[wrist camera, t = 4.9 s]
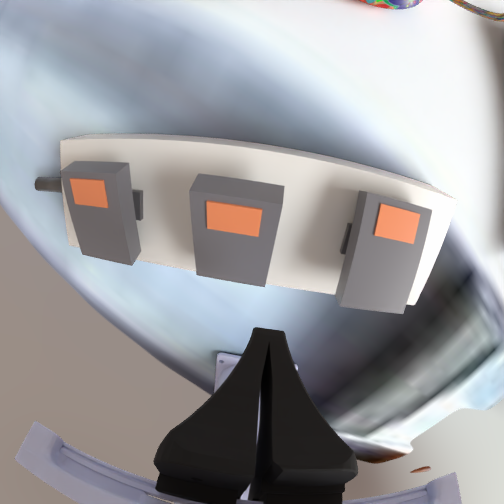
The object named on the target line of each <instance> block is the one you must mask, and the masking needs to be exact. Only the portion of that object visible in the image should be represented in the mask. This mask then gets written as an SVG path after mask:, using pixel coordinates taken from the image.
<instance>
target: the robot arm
mask: <svg viewBox="0 0 504 504" xmlns="http://www.w3.org/2000/svg"><path fill="white" fill-rule="evenodd" d="M297 370H298V366H297V365H296V364H294V362H293V359H292V357H291V354H290V351H289V348H288V344H287V340H286V336H285V333H284V331H279V330H272V329H265V328H258V327H255V328H253V332H252V335H251V338H250V340H249V343H248V345H247V347H246V349H245V351H244V353H243V354H242V356H238V355H232V354H227V353H218V355H217V360H216V374H215V388H214V394H213V395H212V396H211V397H210V398H209V399H208V400H207V401H206V402H205V403H204V404H203V405H202V406H201V407H200V408H199V409H197V411H195V412H194V413H193V414H192V415H191V416H190V417H188V418H187V419H186V420H184V421H183V422H182V423H180V424H179V425H177V426H176V427H175V428H173V429H172V430H171V431H170V432H169V433H168V434H167V436H166V437H165V438H164V440H163V441H162V443H161V444H160V446H159V448H158V450H157V453H156V455H155V458H154V465H155V466H156V467H157V469H158V471H159V472H160V474H159V477H158V480H157V482H156V481H153V480H150V479H147V478H144V477H141V476H138V475H135V474H133V473H130V472H127V471H125V470H122V469H120V468H117V467H115V466H112V465H110V464H108V463H105V462H103V461H101V460H99V459H97V458H94V457H92V456H90V455H88V454H86V453H84V452H82V451H80V450H78V449H76V448H74V447H73V446H71V445H69V444H67V443H65V442H64V441H63V440H62V439H61V438H60V437H59V436H58V435H57V434H56V433H54V432H53V431H51V430H50V429H48V428H46V427H45V426H43V425H41V424H40V423H38V422H37V421H35V422H34V423H33V425H32V427H31V429H30V430H29V432H28V434H27V436H26V438H25V439H24V442H23V443H22V445H21V447H20V449H19V451H18V453H17V455H16V457H15V460H16V461H17V462H18V463H20V464H21V465H22V466H23V467H25V468H26V469H27V470H29V471H30V472H31V473H33V474H34V475H36V476H37V477H38V478H40V479H41V480H43V481H44V482H45V483H47V484H48V485H50V486H51V487H53V488H54V489H56V490H57V491H59V492H61V493H62V494H64V495H65V496H67V497H69V498H71V499H72V500H74V501H76V502H77V503H79V504H171V503H168V502H165V501H162V500H159V499H157V498H154V497H151V496H155V497H158V498H161V499H164V500H168V501H171V502H174V504H462V503H461V497H460V491H459V485H458V480H457V475H456V473H455V472H454V473H451V474H448V475H445V476H442V477H439V478H437V479H435V480H433V481H431V482H429V483H428V484H427V485H423V486H420V487H416V488H412V489H408V490H404V491H400V492H395V493H391V494H386V495H381V496H375V497H369V498H362V499H355V500H346V501H342V493H343V492H344V491H345V483H347V482H348V481H350V480H352V479H353V478H354V477H355V476H356V475H357V474H358V466H357V461H356V457H355V454H354V451H353V450H352V449H351V448H350V447H349V446H348V445H347V444H346V443H345V442H344V441H343V440H342V439H341V438H340V437H339V436H338V435H337V434H336V432H335V431H334V430H333V429H332V428H331V427H330V425H329V424H328V423H327V421H326V420H325V419H324V417H323V416H322V415H321V413H320V412H319V410H318V409H317V407H316V406H315V404H314V403H313V401H312V399H311V398H310V396H309V394H308V392H307V391H306V389H305V387H304V385H303V383H302V381H301V379H300V377H299V374H298V372H297ZM147 494H148V495H151V496H148V495H147Z"/></svg>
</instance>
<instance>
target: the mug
mask: <svg viewBox="0 0 504 504" xmlns="http://www.w3.org/2000/svg"><path fill="white" fill-rule="evenodd" d="M360 1H362V2H365V3H367V4H370V5H374V6H377V7H381V8H387V9H406V8H410V7H413V6H416V5H418V4H419V3H420V2H421V1H422V0H360ZM450 1H451V2H453V3H455V4H457V5H458V6H460V7H462V8H464V9H466V10H468V11H470V12H472V13H475V14H477V15H479V16H482V17H485V18H488V19H491V20H495V21H504V14H498V13H493V12H489V11H486V10H484V9H481V8H479V7H476V6H474V5H472V4H470V3H468V2H466V1H464V0H450Z"/></svg>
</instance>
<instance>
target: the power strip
mask: <svg viewBox="0 0 504 504" xmlns="http://www.w3.org/2000/svg"><path fill="white" fill-rule="evenodd" d="M60 158H61V170H62V169H64V168H65V167H67V166H68V165H69V164H71V163H72V162H74V161H103V162H126V163H129V166H130V176H131V185H132V194H133V201H134V209H135V216H136V222H137V229H138V235H139V241H140V246H141V252H140V254H139V256H138V257H137V259H136V260H140V261H145V262H149V263H154V264H159V265H165V266H170V267H175V268H180V269H185V270H191V271H196V264H195V255H194V245H193V234H192V223H191V211H190V197H189V190H190V188H191V186H192V184H193V182H194V181H195V179H196V177H197V175H198V173H199V174H208V175H216V176H223V177H231V178H238V179H245V180H251V181H258V182H264V183H270V184H276V185H282V186H285V187H284V198H283V206H282V211H281V216H280V220H279V225H278V230H277V234H276V239H275V244H274V248H273V253H272V257H271V262H270V266H269V271H268V275H267V280H266V284H270V285H276V286H282V287H288V288H295V289H301V290H307V291H314V292H321V293H327V294H334V295H335V293H336V289H337V285H338V282H339V278H340V274H341V270H342V266H343V262H344V258H345V254H346V250H347V246H348V241H349V237H350V232H351V228H352V223H353V218H354V214H355V209H356V203H357V198H358V193H359V190H360V191H366V192H370V193H374V194H378V195H382V196H386V197H390V198H393V199H397V200H400V201H404V202H408V203H411V204H414V205H418V206H421V207H424V208H428V209H431V210H432V214H431V219H430V224H429V228H428V233H427V237H426V241H425V245H424V249H423V252H422V256H421V260H420V263H419V267H418V270H417V273H416V277H415V280H414V283H413V286H412V289H411V292H410V295H409V298H408V301H407V303H406V304H409V305H415V303H416V301H417V299H418V297H419V295H420V293H421V291H422V289H423V287H424V285H425V283H426V281H427V279H428V276H429V274H430V272H431V270H432V267H433V265H434V263H435V260H436V258H437V256H438V253H439V251H440V248H441V246H442V243H443V240H444V238H445V235H446V232H447V230H448V227H449V224H450V221H451V218H452V215H453V212H454V209H455V206H456V203H457V200H456V199H454V198H453V197H451V196H449V195H448V194H446V193H444V192H443V191H441V190H439V189H437V188H436V187H434V186H432V185H429V184H426V183H423V182H420V181H417V180H414V179H411V178H408V177H405V176H402V175H398V174H395V173H392V172H388V171H385V170H381V169H378V168H374V167H371V166H367V165H363V164H359V163H355V162H351V161H347V160H343V159H339V158H335V157H330V156H326V155H321V154H316V153H311V152H306V151H301V150H296V149H290V148H285V147H279V146H273V145H266V144H260V143H253V142H245V141H238V140H229V139H220V138H210V137H199V136H185V135H168V134H135V133H116V134H88V135H83V136H78V137H74V138H69V139H65V140H61V141H60ZM35 189H36V190H38V191H50V192H62V194H63V204H64V213H65V221H66V228H67V235H68V241H69V245H70V246H75V247H79V248H80V246H79V243H78V239H77V236H76V233H75V230H74V226H73V223H72V219H71V216H70V212H69V208H68V204H67V200H66V196H65V192H64V188H63V183H62V179H61V178H53V177H38V178H37V179H36V181H35Z"/></svg>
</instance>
